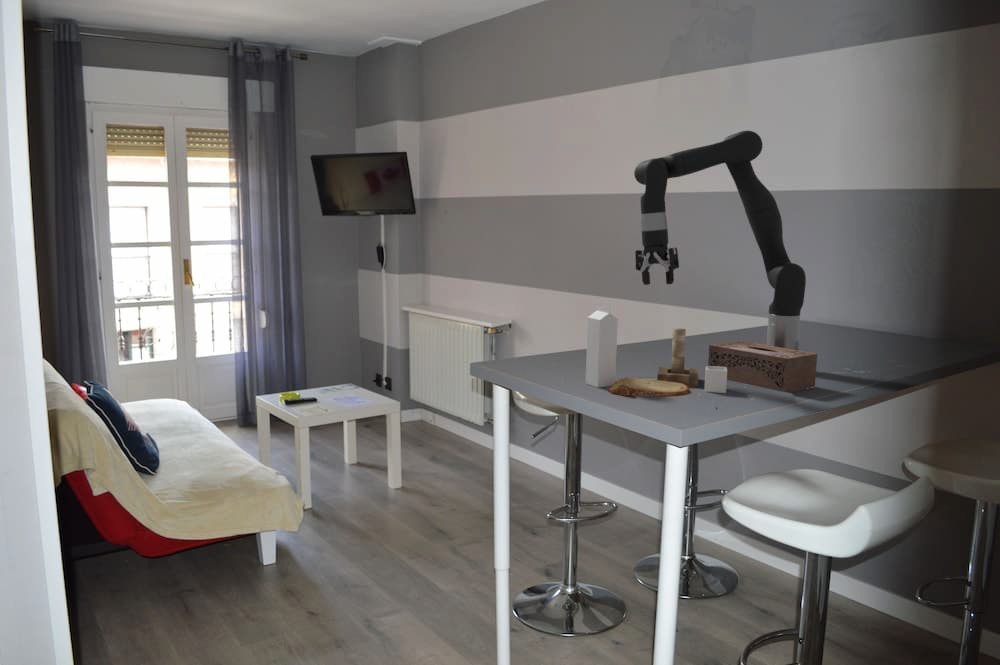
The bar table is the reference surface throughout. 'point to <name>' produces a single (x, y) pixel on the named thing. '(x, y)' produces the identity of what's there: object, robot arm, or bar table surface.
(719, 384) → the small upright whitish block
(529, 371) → the bar table surface
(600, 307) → the milk
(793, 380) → the tissue box cover
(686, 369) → the socket block
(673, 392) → the bread slice
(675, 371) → the dowel
